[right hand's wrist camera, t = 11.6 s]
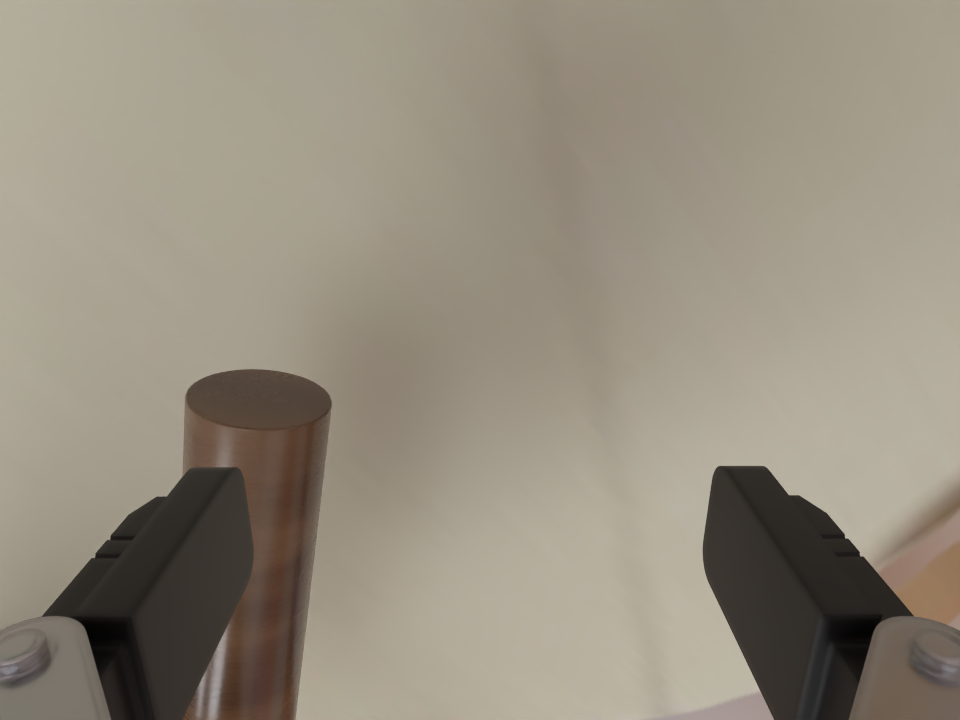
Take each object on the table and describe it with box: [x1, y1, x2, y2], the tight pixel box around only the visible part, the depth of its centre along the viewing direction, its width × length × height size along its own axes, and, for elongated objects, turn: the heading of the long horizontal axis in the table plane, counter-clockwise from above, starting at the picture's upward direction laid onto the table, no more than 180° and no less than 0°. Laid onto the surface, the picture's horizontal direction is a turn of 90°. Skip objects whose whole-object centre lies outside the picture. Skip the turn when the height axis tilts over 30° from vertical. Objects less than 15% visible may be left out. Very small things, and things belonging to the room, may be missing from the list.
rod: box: [182, 369, 332, 720], centre depth 31 cm, size 28×5×5 cm, turn 170°
